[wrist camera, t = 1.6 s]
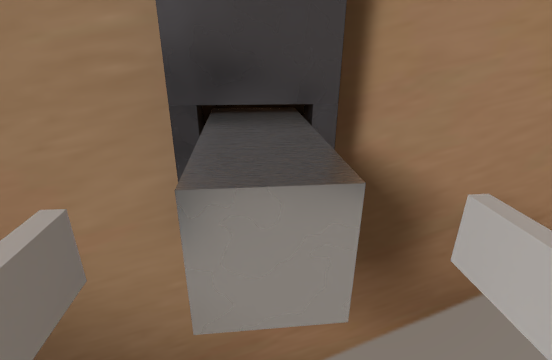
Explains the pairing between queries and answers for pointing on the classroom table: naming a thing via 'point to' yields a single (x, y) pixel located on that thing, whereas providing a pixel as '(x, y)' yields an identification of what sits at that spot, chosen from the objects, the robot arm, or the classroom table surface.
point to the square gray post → (267, 223)
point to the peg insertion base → (250, 60)
